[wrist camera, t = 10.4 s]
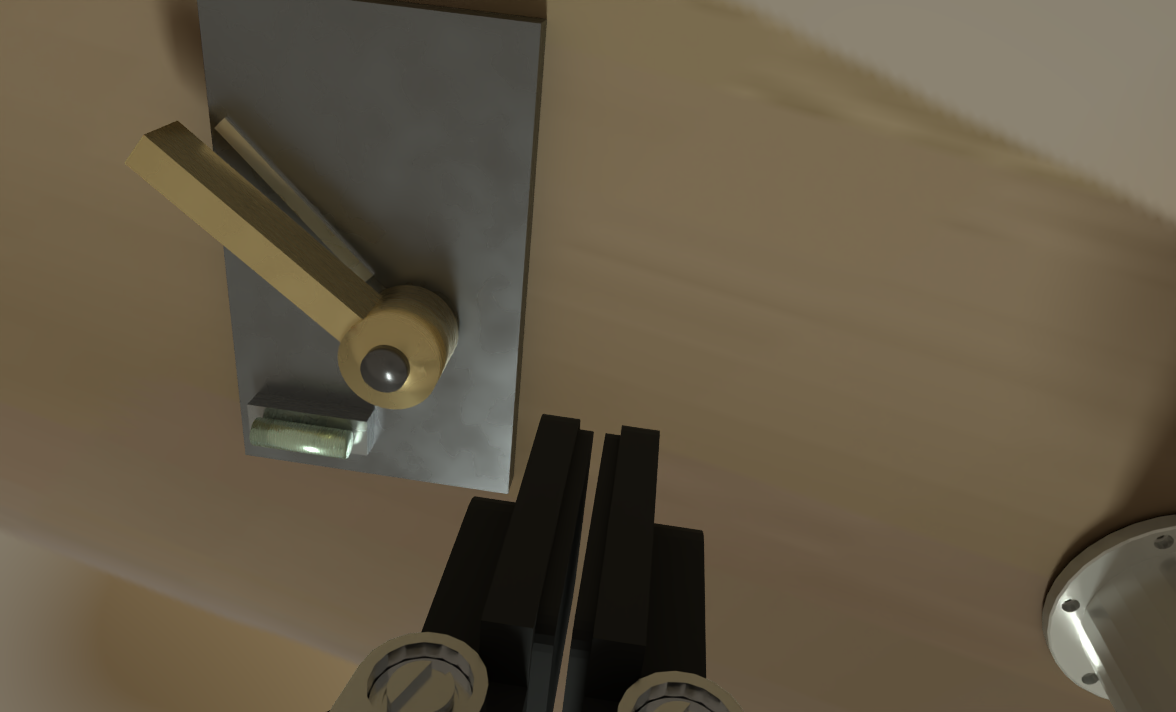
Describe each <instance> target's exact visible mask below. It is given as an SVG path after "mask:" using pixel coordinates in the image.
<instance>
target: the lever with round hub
mask: <svg viewBox="0 0 1176 712" xmlns="http://www.w3.org/2000/svg"><path fill="white" fill-rule="evenodd" d="M125 164H126V165H127V166H128V167H129V168H131V169H132V170H133V171H134V172H136V173H137V174H138V175H139V176H140V177H142V178H143V179H144V180H145V181H146V182H148V183H149V184H150V185H151V186H152V187H154V188H155V189H156V190H157V191H158V192H160V193H161V194H162V195H163V196H164V197H166V198H167V199H168V200H169V201H171V202H172V203H173V204H174V205H175V206H177V207H178V208H179V209H180V210H181V211H183V212H184V213H185V214H186V215H187V216H189V217H190V218H191V219H192V220H193V221H195V222H196V223H197V224H198V225H199V226H201V227H202V228H203V229H204V230H206V231H207V232H208V233H209V234H210V235H212V236H213V237H214V238H215V239H216V240H218V241H219V242H220V243H221V244H222V245H224V246H225V247H226V248H227V249H228V250H230V251H231V252H232V253H233V254H234V255H236V256H237V257H238V258H239V259H241V260H242V261H243V262H244V263H245V264H247V265H248V266H249V267H250V268H251V269H253V270H254V271H255V272H256V273H257V274H259V275H260V276H261V277H262V278H263V279H265V280H266V281H267V282H268V283H269V284H271V285H272V286H273V287H274V288H276V289H277V290H278V291H279V292H280V293H282V294H283V295H284V296H285V297H286V298H288V299H289V300H290V301H291V302H292V303H294V304H295V305H296V306H297V307H298V308H300V309H301V310H302V311H303V312H304V313H306V314H307V315H308V316H309V317H310V318H312V319H313V320H314V321H315V322H317V323H318V324H319V325H320V326H321V327H323V328H324V329H325V330H326V331H327V332H329V333H330V334H331V335H332V336H333V337H335V338H336V339H337V340H338V341H339V342H341V343H340V345H339V349H338V365H339V369H340V372H341V374H342V376H343V378H344V380H345V382H346V383H347V385H348V386H349V387H350V388H351V389H352V391H353V392H355V393H356V394H357V395H358V396H359V397H361V398H362V399H363V400H365V401H367V402H369V403H371V404H373V405H375V406H378V407H381V408H386V409H406V408H410V407H413V406H415V405H418V404H419V403H421V402H423V401H424V400H425V399H426V398H427V397H428V396H429V395H430V394H431V392H432V391H433V389H434V387H435V386H436V384H437V382H438V380H439V378H440V376H441V374H442V373H443V371H444V369H445V367H446V365H447V363H448V361H449V360H450V358H451V356H452V354H453V352H454V350H455V348H456V346H457V342H458V336H459V333H458V324H457V321H456V318H455V316H454V314H453V312H452V310H451V309H450V307H449V306H448V305H447V304H446V302H445V301H444V300H442V299H441V298H440V297H439V296H438V295H436V294H435V293H433V292H431V291H429V290H427V289H425V288H422V287H419V286H414V285H398V286H393V287H390V288H388V289H386V290H384V291H382V292H381V293H378V292H376V291H375V290H374V289H373V288H372V287H371V286H369V285H368V284H367V283H366V282H365V281H364V280H362V279H361V278H360V277H359V276H358V275H357V274H355V273H354V272H353V271H352V270H351V269H350V268H348V267H347V266H346V265H345V264H344V263H343V262H341V261H340V260H339V259H338V258H337V257H336V256H334V255H333V254H332V253H331V252H330V251H329V250H328V249H326V248H325V247H324V246H323V245H322V244H321V243H319V242H318V241H317V240H316V239H315V238H314V237H312V236H311V235H310V234H309V233H308V232H307V231H305V230H304V229H303V228H302V227H301V226H300V225H298V224H297V223H296V222H295V221H294V220H293V219H291V218H290V217H289V216H288V215H287V214H286V213H284V212H283V211H282V210H281V209H280V208H279V207H277V206H276V205H275V204H274V203H273V202H272V201H270V200H269V199H268V198H267V197H266V196H265V195H264V194H262V193H261V192H260V191H259V190H258V189H257V188H255V187H254V186H253V185H252V184H251V183H250V182H248V181H247V180H246V179H245V178H244V177H243V176H241V175H240V174H239V173H238V172H237V171H236V170H234V169H233V168H232V167H231V166H230V165H229V164H227V163H226V162H225V161H224V160H223V159H222V158H220V157H219V156H218V155H217V154H216V153H215V152H213V151H212V150H211V149H210V148H209V147H208V146H206V145H205V144H204V143H203V142H202V141H201V140H199V139H198V138H197V137H196V136H195V135H194V134H193V133H191V132H190V131H189V130H188V129H187V128H186V127H184V126H183V125H182V124H181V123H180V122H179V121H175V122H173V123H171V124H168V125H166V126H163V127H161V128H159V129H156V130H154V131H152V132H149V133H147V134H144V135H143V136H142V138H141V139H140V141H139V142H138V144H137V145H136V147H135V148H134V150H133V151H132V153H131V154H130V156H129V157H128V158H127V160H126V161H125Z"/></svg>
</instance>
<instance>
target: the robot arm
mask: <svg viewBox="0 0 1176 712" xmlns="http://www.w3.org/2000/svg"><path fill="white" fill-rule="evenodd" d="M593 433H594V432H593V431H587V430H580V419H574V418H567V417H561V416H554V415H547V414H543V415H542V417H541V420H540V423H539V426H538V430H537V433H536V436H535V440H534V443H533V446H532V450H531V453H530V457H529V460H528V463H527V467H526V470H525V473H524V477H523V480H522V483H521V487H520V490H519V494H518V497H517V500H516V503H515V502H509V501H502V500H495V499H489V498H482V497H475V496H474V497H473V498H472V500H471V502H470V504H469V506H468V509H467V512H466V514H465V517H464V520H463V522H462V525H461V528H460V530H459V533H458V536H457V538H456V541H455V544H454V546H453V549H452V552H451V554H450V557H449V560H448V562H447V565H446V568H445V570H444V573H443V576H442V578H441V581H440V584H439V586H438V589H437V592H436V594H435V597H434V600H433V602H432V605H431V608H430V610H429V613H428V616H427V618H426V621H425V624H424V626H423V629H422V632H421V633H410V634H406V635H402V636H399V637H396V638H393V639H390V640H388V641H387V642H385V643H383V644H382V645H380V646H379V647H377V648H376V649H374V650H372V651H371V653H370V654H369V655H368V656H367V657H366V658H365V659H364V660H363V662H362V663H361V664H360V665H359V666H358V668H357V670H356V671H355V673H354V674H353V676H352V678H351V679H350V680H349V682H348V684H347V685H346V687H345V688H344V690H343V691H342V693H341V694H340V696H339V697H338V699H337V700H336V702H335V704H334V705H333V707H332V709H331V710H329V711H328V712H553V708H554V702H555V696H556V691H557V685H558V679H559V674H560V668H561V662H562V656H563V651H564V645H565V639H566V634H567V628H568V622H569V616H570V611H571V605H572V599H573V593H574V586H575V579H576V572H577V563H578V555H579V547H580V539H581V531H582V523H583V515H584V507H585V499H586V491H587V483H588V475H589V467H590V459H591V451H592V443H593ZM659 437H660V431H657V430H650V429H643V428H637V427H630V426H623V425H622V429H621V435H614V434H607V433H606V434H605V440H604V446H603V452H602V458H601V464H600V470H599V476H598V482H597V488H596V494H595V500H594V506H593V512H592V518H591V524H590V530H589V536H588V542H587V548H586V554H585V560H584V566H583V572H582V578H581V584H580V590H579V596H578V602H577V608H576V614H575V620H574V627H573V633H572V640H571V647H570V655H569V663H568V671H567V679H566V686H565V694H564V702H563V710H562V712H744V710H743V709H742V708H741V706H740V705H739V704H738V703H737V702H736V700H735V699H734V698H733V697H732V695H731V694H730V693H728V692H727V691H725V690H724V689H723V688H721V687H720V686H719V685H717V684H716V683H715V682H713V681H710V680H708V679H706V642H705V578H704V535H703V531H702V530H695V529H689V528H682V527H675V526H669V525H662V524H655V523H654V514H655V499H656V483H657V468H658V452H659ZM1042 630H1043V633H1044V637H1045V640H1046V643H1047V646H1048V648H1049V650H1050V652H1051V654H1052V656H1053V658H1054V660H1055V662H1056V664H1057V665H1058V666H1059V667H1060V669H1061V670H1062V671H1063V672H1064V673H1065V675H1066V676H1067V677H1068V678H1069V679H1071V680H1072V681H1073V682H1074V683H1076V684H1077V685H1078V686H1080V687H1081V688H1083V689H1085V690H1087V691H1089V692H1091V693H1093V694H1095V695H1097V696H1099V697H1102V698H1106V699H1109V700H1110V702H1111V703H1112V705H1113V707H1114V709H1115V711H1116V712H1176V515H1168V516H1161V517H1157V518H1153V519H1150V520H1146V521H1142V522H1139V523H1135V524H1132V525H1130V526H1127V527H1125V528H1123V529H1120V530H1118V531H1116V532H1113V533H1111V534H1109V535H1107V536H1106V537H1104V538H1102V539H1101V540H1099V541H1097V542H1096V543H1094V544H1092V545H1091V546H1089V547H1087V548H1086V549H1085V550H1084V551H1083V552H1081V553H1080V554H1079V555H1078V556H1077V557H1075V558H1074V559H1073V560H1072V561H1071V562H1070V563H1069V564H1068V565H1067V566H1066V567H1065V568H1064V570H1063V571H1062V572H1061V573H1060V574H1059V576H1058V577H1057V578H1056V580H1055V581H1054V583H1053V585H1052V587H1051V589H1050V591H1049V592H1048V594H1047V597H1046V601H1045V604H1044V608H1043V612H1042Z"/></svg>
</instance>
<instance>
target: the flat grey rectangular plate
mask: <svg viewBox="0 0 1176 712" xmlns="http://www.w3.org/2000/svg"><path fill="white" fill-rule="evenodd" d="M197 4H198V14H199V23H200V32H201V42H202V51H203V60H204V70H205V79H206V88H207V98H208V107H209V116H210V126H211V135H212V144H213V152H215V153H216V154H217V155H218V156H219V157H220V158H222V159H223V160H224V161H225V162H226V163H227V164H229V165H230V166H231V167H232V168H233V169H234V170H236V171H237V172H238V173H239V174H240V175H241V176H243V177H244V178H245V179H246V180H247V181H248V182H250V183H251V184H252V185H253V186H254V187H255V188H257V189H258V190H259V191H260V192H261V193H262V194H264V195H265V196H266V197H267V198H268V199H269V200H270V201H272V202H273V203H274V204H275V205H276V206H277V207H279V208H280V209H281V210H282V211H283V212H284V213H286V214H287V215H288V216H289V217H290V218H291V219H293V220H294V221H295V222H296V223H297V224H298V225H300V226H301V227H302V228H303V229H304V230H305V231H307V232H308V233H309V234H310V235H311V236H312V237H314V238H315V239H316V240H317V241H318V242H319V243H321V244H322V245H323V246H324V247H325V248H326V249H328V250H329V251H330V252H331V253H332V254H333V255H334V256H336V257H337V258H338V259H339V260H340V261H341V262H343V263H344V264H345V265H346V266H347V267H348V268H350V269H351V270H352V271H353V272H354V273H355V274H357V275H358V276H359V277H360V278H361V279H362V280H364V281H365V282H366V283H367V284H368V285H369V286H371V287H372V288H373V289H374V290H375V291H376V292H378V293H381V292H382V291H384V290H386V289H388V288H390V287H393V286H398V285H414V286H419V287H422V288H425V289H427V290H429V291H431V292H433V293H435V294H436V295H438V296H439V297H440V298H441V299H442V300H444V301H445V302H446V304H447V305H448V306H449V307H450V309H451V310H452V312H453V314H454V316H455V318H456V321H457V324H458V333H459V336H458V342H457V346H456V348H455V350H454V352H453V354H452V356H451V358H450V360H449V361H448V363H447V365H446V367H445V369H444V371H443V373H442V374H441V376H440V378H439V380H438V382H437V384H436V386H435V387H434V389H433V391H432V392H431V394H430V395H429V396H428V397H427V398H426V399H425V400H424V401H423V402H421V403H419V404H418V405H415V406H413V407H410V408H406V409H386V408H381V407H378V406H375V405H373V404H371V403H369V402H367V401H365V400H363V399H362V398H361V397H359V396H358V395H357V394H356V393H355V392H353V391H352V389H351V388H350V387H349V386H348V385H347V383H346V382H345V380H344V378H343V376H342V374H341V372H340V369H339V365H338V349H339V345H340V343H341V342H339V341H338V340H337V339H336V338H335V337H333V336H332V335H331V334H330V333H329V332H327V331H326V330H325V329H324V328H323V327H321V326H320V325H319V324H318V323H317V322H315V321H314V320H313V319H312V318H310V317H309V316H308V315H307V314H306V313H304V312H303V311H302V310H301V309H300V308H298V307H297V306H296V305H295V304H294V303H292V302H291V301H290V300H289V299H288V298H286V297H285V296H284V295H283V294H282V293H280V292H279V291H278V290H277V289H276V288H274V287H273V286H272V285H271V284H269V283H268V282H267V281H266V280H265V279H263V278H262V277H261V276H260V275H259V274H257V273H256V272H255V271H254V270H253V269H251V268H250V267H249V266H248V265H247V264H245V263H244V262H243V261H242V260H241V259H239V258H238V257H237V256H236V255H234V254H233V253H232V252H231V251H230V250H228V249H227V248H226V247H225V246H224V245H223V247H224V257H225V266H226V275H227V285H228V294H229V303H230V313H231V322H232V331H233V341H234V350H235V359H236V369H237V378H238V387H239V397H240V406H241V415H242V425H243V434H244V443H245V453H246V455H251V456H258V457H264V458H271V459H278V460H284V461H291V462H298V463H305V464H311V465H318V466H325V467H331V468H338V469H345V470H351V471H358V472H365V473H371V474H378V475H385V476H391V477H398V478H405V479H412V480H418V481H425V482H432V483H438V484H445V485H452V486H458V487H465V488H472V489H478V490H485V491H492V492H498V493H505V494H508V492H509V489H510V486H511V483H512V480H513V475H514V462H515V448H516V434H517V421H518V407H519V393H520V380H521V366H522V352H523V339H524V325H525V311H526V298H527V284H528V270H529V257H530V243H531V229H532V215H533V202H534V188H535V174H536V161H537V147H538V133H539V120H540V106H541V92H542V79H543V65H544V51H545V38H546V24H547V19H542V18H533V17H525V16H517V15H509V14H501V13H492V12H484V11H476V10H468V9H460V8H451V7H443V6H435V5H427V4H419V3H410V2H402V1H394V0H197Z"/></svg>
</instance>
